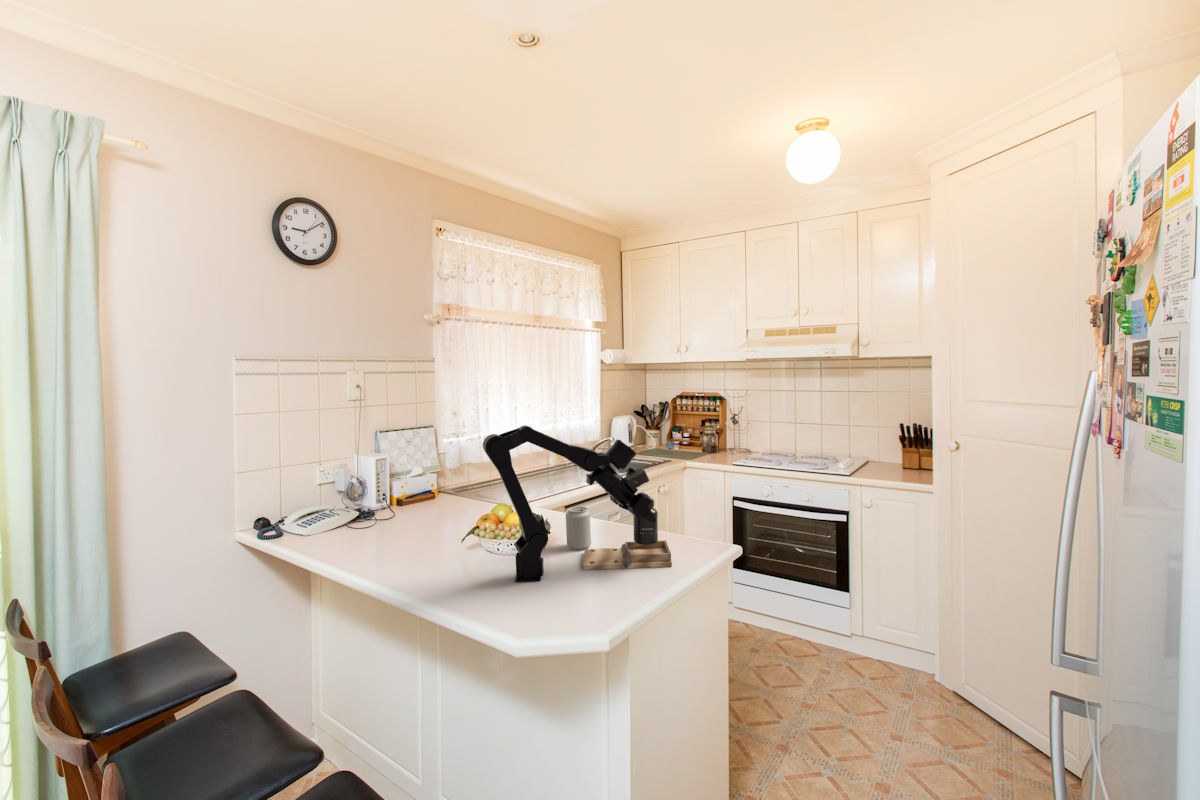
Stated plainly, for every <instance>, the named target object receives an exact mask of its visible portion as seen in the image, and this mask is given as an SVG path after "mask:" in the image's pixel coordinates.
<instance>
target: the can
mask: <svg viewBox="0 0 1200 800" xmlns="http://www.w3.org/2000/svg"><path fill="white" fill-rule="evenodd" d="M591 526H592V525H591V513H590V511H589V510H588V507H586V506H574V507H573V506H572V507H569V508H567V512H566V513H565V530H566V531H565V532H566V546H567V547H568V548H569V549H571V550H574V551H582V549H583V550H585V549H586V548H587V549H589V547H590V546H591V545H592V533H591V532H592V530H591V529H592V528H591Z"/></svg>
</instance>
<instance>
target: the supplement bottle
mask: <svg viewBox="0 0 1200 800" xmlns="http://www.w3.org/2000/svg"><path fill="white" fill-rule="evenodd" d="M651 499H652V502H651V503H650V504H649V508H650V510H651V511H652V513H653V515H654V516H655V518H656V521H655V522H651V521H648V520H646V519H643V518H640V517H636V516H634V515H633V542H636V543H637V544H642V545H651V544H655V543H656V542H657V541H659V540H658V539H659V533H658V532H659V524H658V522H659V516H658V514H659V512H658V510H657V509H656V508H654V507H655V500H654V498H651Z"/></svg>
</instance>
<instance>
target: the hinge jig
mask: <svg viewBox="0 0 1200 800" xmlns="http://www.w3.org/2000/svg"><path fill="white" fill-rule="evenodd" d="M665 566H673V562H672V553H671V550H670V548H669V545H668V543H667V539H666V540H658V541H657V542H656V543H655V544H651V545H642V544H637V543H636V542H635V541H625V542H624V543H622V545H621V547H605V548H587V549H584V553H583V560H582V570H583V571H592V570H593V571H594V570H617V569H618V570H619V569H620V568H622V569H644V567H651V568H666V567H665Z"/></svg>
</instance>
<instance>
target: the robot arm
mask: <svg viewBox="0 0 1200 800" xmlns="http://www.w3.org/2000/svg"><path fill="white" fill-rule="evenodd" d="M525 443H530V444H532V445H535V446H537V447H539V448H542V449H544V450H547V451H549V452H551V453H553V454H555V455H559V456H561V457H563V458H565V459H566V460H568V461H569V462H570V463H572V464H574V465H575V466H576V467H578V468H580V469H582V470H584V471H586V472H589V473H586V474H585V476H586V481H585V482H586V483H587V484H588V485H589V486H593V484H594V483H595V482H596V483H597V484H598V485H599V487H601V488H602V489H604V491H605V493H607V494H608V495H609V499H610V501H611V502H613V504H614V505H616V506H618V507H619V508H621V509H623V510H626V511H628V512H629V513H631V515H632V516H633V517H634V516H636V517H640V518H643V519H646V520H648V521H651V522H655V521H656V518H655V516H654V515H653V513H652V511H651V510H650V508H649V504H650V503H651V502H652V499H653V498H651V497H650V496H649V495H648V494H647V493H644V492H638V491H639V489H638V488H639V487H640V486H642V485H644V484H647V483H648V482H650V478H649V476H648V474H647V472H646V470H645V469H642V468H636V469H635V468H633V467H628V465H629V464H630V463H631V462H632V461H633V459H634V458H635V457H637V452H636V451H635V450H634V449H633V448H632V447H630V446H629V445H627V444H626V443H624V442H623V441H622V440H621V439H616V440H615V441H614V443H613V444H612V445H611V447H610V448H609V450H607V452H606V453H603V452H597V450H596V451H595V450H593V449H590V448H588V447H584V446H580V445H573V444H569V443H566V442H563V441H561V440H560V439H557V438H555V437H552V436H550V435H548V434H545V433H543V432H540V431H538V430H536V429H535V428H532V427H531V426H529V425H521V426H519V427H518V428H515V429H512V430H510V431H509V430H508V431H506V432H503V433H500V434H495V433H492V434H489V435H487V436H486V437H485V438H484V439H483V442H482V449H483V451H484V453H485V454H486V456H487V458H489V460H490V461H491V463H492V464H493V466H494V468H496V470H497V472H498V474H499V476H500V479H501V480H502V483H503V485H504V488H505V489H506V492H507V494H508V497H509V498H510V501H511V504H512V505H513V508H514V510H515V512H516V515H517V517H518V521H519V529H520V533H521V536H519V537H518V539H516V541H515V542H514V543H513V544H514V547H515V549H516V551H517V552H516V555H515V569H516V570H515V573H516V574H515V583H519V582H522V583H523V582H540V581H541V579H542V577H543V576H544V572H545V571H544V570H545V569H544V566H545V565H544V558H543V557H542V553H543V549H545V547H546V546H547V544H548V542H549V536H548V534H550V531H549V530H548V529H547V528H546V524H545V520H544V519H543V517H542V516H541V515H540V514H538V513H537V514H536V515H534V513H533V511H532V509H531V506H530V504H529V502H528V499H527V496H526V495H525V493H524V490H523V488H522V485H521V483H520V480H519V478H518V476H517V474H516V472H515V469H514V466H513V463H512V462H513V461H512V458H511V457H512V456H511V452H510V451H512V450H513V449H516V448H517V447H519V446H521V445H523V444H525ZM610 465H611V466H610ZM627 467H628V468H627ZM626 468H627V469H626ZM625 469H626V474H625V477H623V476H621V475H620V474H619V473H618V472H617V471H619V470H625ZM590 472H591V473H590ZM637 492H638V493H637Z"/></svg>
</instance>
